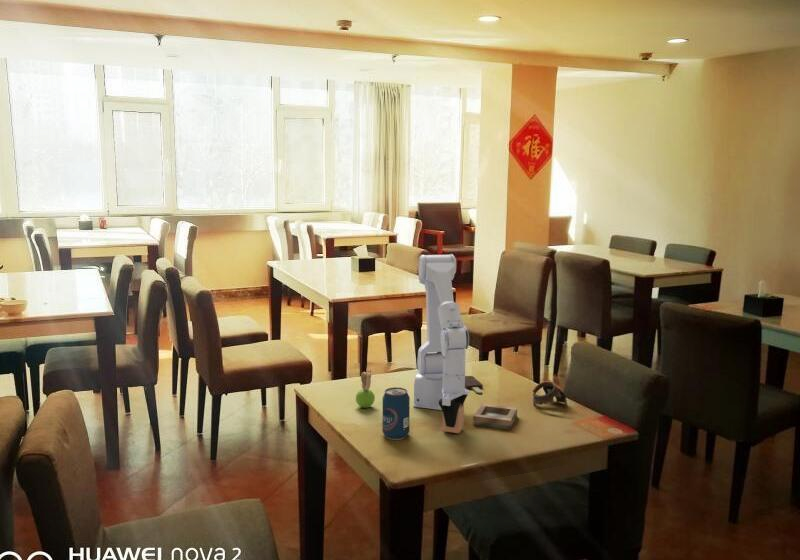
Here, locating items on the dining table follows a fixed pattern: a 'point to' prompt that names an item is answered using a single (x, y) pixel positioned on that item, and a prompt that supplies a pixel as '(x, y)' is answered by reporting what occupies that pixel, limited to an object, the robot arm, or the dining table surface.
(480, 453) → the dining table surface
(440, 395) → the robot arm
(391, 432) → the soda can
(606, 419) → the dining table surface
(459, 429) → the terracotta block
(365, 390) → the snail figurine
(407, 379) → the dining table surface
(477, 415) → the walnut base
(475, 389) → the ice cream bar
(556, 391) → the dark looped band sculpture
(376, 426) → the dining table surface
